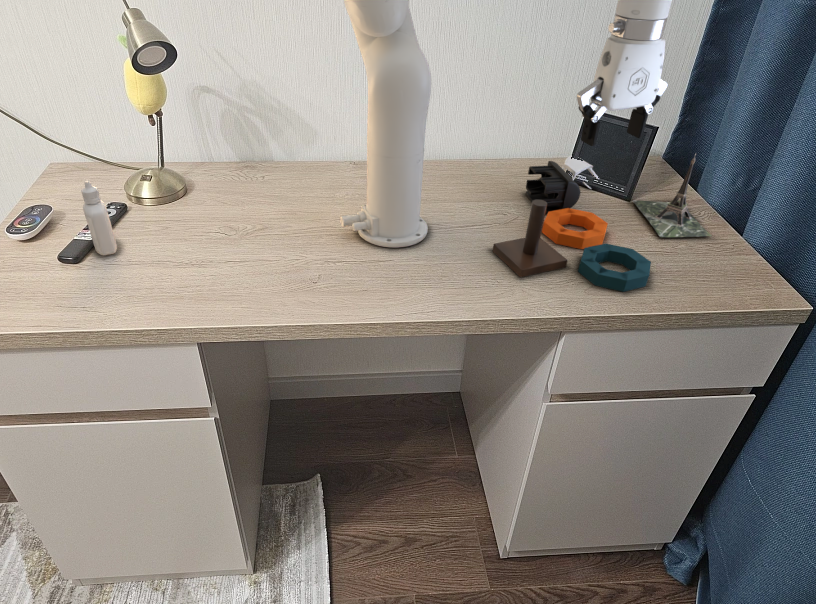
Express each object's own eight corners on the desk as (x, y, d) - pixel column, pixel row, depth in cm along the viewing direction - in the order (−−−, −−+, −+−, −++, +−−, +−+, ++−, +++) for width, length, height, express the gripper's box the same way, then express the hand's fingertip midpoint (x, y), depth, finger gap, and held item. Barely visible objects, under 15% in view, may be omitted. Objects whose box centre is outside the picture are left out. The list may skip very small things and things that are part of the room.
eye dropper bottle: (87, 256, 101) (65, 188, 94) (99, 239, 106) (79, 173, 98) (113, 256, 101) (94, 189, 94) (124, 240, 106) (107, 174, 98)
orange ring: (566, 252, 107) (569, 241, 105) (532, 224, 115) (534, 214, 113) (616, 242, 110) (619, 231, 109) (579, 215, 118) (581, 205, 117)
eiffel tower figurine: (629, 202, 123) (649, 136, 115) (678, 202, 124) (701, 137, 116) (659, 239, 112) (683, 169, 103) (713, 239, 112) (741, 169, 104)
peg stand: (520, 277, 100) (531, 219, 94) (492, 251, 106) (500, 195, 100) (565, 267, 103) (579, 210, 96) (535, 242, 109) (547, 187, 103)
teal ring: (607, 295, 97) (611, 284, 95) (566, 262, 104) (569, 250, 103) (660, 282, 100) (664, 271, 99) (617, 251, 108) (620, 240, 106)
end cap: (576, 213, 119) (584, 180, 114) (541, 215, 118) (548, 182, 113) (556, 191, 126) (563, 159, 122) (523, 193, 125) (529, 161, 121)
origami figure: (602, 196, 125) (608, 173, 122) (562, 196, 124) (567, 173, 121) (581, 172, 135) (586, 150, 132) (544, 172, 134) (548, 150, 131)
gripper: (608, 38, 88) (583, 154, 98) (699, 29, 93) (666, 140, 104) (575, 27, 93) (555, 138, 104) (664, 19, 99) (636, 125, 109)
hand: (611, 139), depth 104 cm, fingers open, 9 cm apart
